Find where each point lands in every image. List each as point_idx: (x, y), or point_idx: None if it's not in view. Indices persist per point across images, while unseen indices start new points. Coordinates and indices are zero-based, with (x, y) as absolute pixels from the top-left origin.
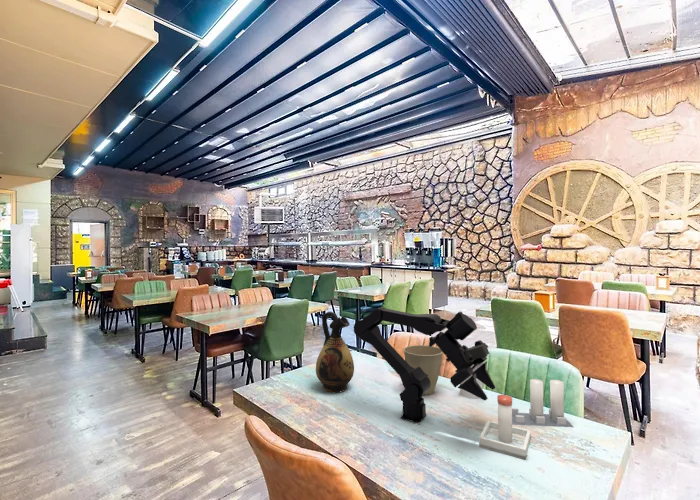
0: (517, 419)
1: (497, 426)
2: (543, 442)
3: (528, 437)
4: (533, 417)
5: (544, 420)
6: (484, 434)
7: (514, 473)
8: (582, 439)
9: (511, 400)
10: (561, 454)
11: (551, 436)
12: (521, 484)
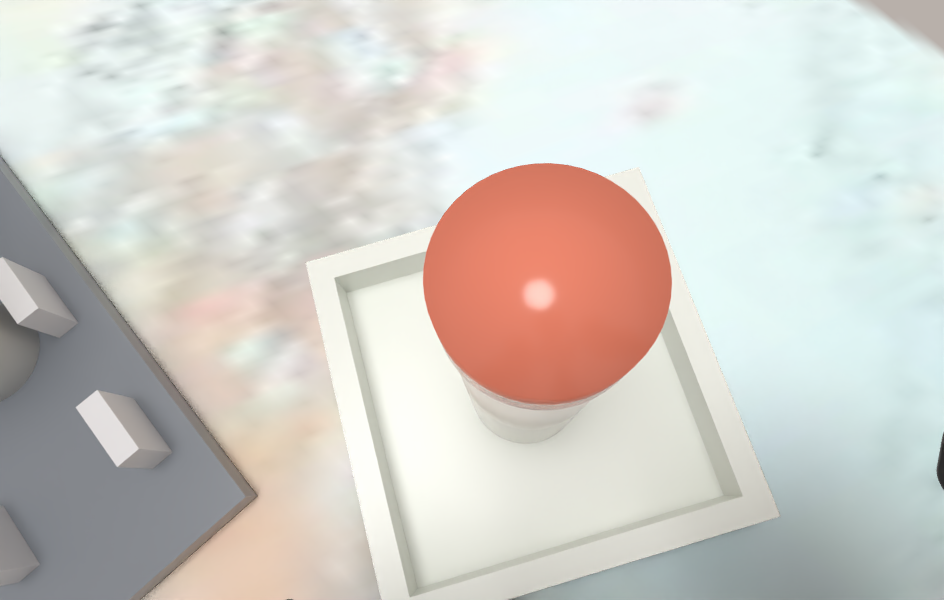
0: (148, 441)
1: (397, 522)
2: (306, 210)
3: (434, 228)
4: (12, 359)
5: (22, 269)
6: (671, 516)
7: (833, 183)
8: (89, 66)
9: (542, 171)
10: (381, 85)
11: (178, 206)
12: (897, 113)
